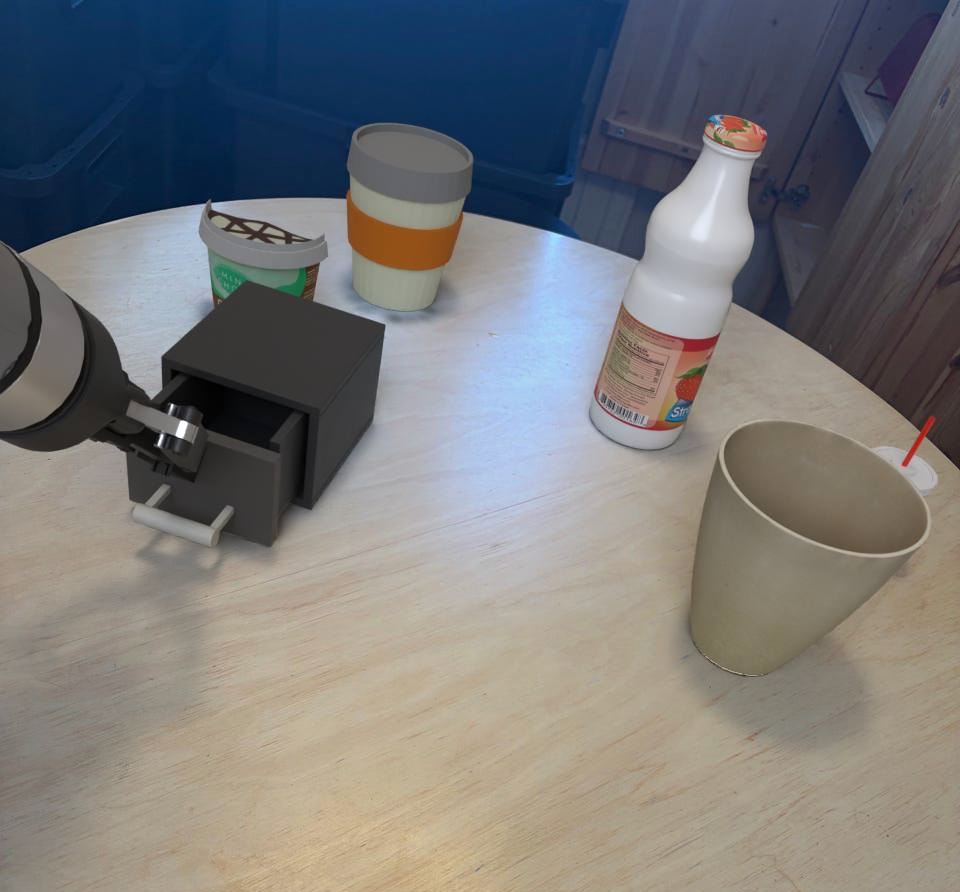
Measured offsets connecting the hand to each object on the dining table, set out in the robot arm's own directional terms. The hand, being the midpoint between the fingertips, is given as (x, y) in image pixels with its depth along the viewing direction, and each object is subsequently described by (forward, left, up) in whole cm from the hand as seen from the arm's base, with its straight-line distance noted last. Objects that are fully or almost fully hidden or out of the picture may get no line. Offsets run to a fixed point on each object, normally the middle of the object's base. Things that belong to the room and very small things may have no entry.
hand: (190, 461), depth 68 cm
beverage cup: (+43, +39, -8) cm, 59 cm away
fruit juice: (+19, +42, -8) cm, 47 cm away
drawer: (-1, +6, -7) cm, 9 cm away
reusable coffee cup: (-12, +46, -8) cm, 48 cm away
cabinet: (-4, +15, -7) cm, 17 cm away
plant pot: (+38, +19, -8) cm, 43 cm away
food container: (-17, +28, -8) cm, 33 cm away
